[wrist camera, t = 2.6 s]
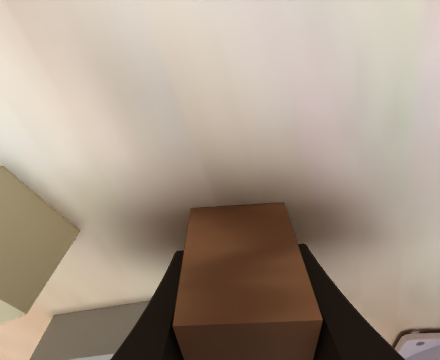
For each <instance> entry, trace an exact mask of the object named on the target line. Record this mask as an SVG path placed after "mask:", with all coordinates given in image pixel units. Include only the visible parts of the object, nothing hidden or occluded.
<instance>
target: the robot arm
mask: <svg viewBox="0 0 440 360" xmlns="http://www.w3.org/2000/svg"><path fill="white" fill-rule="evenodd" d="M298 247H299V250H300V253H301V256H302V259H303V262H304V265H305V268H306V271H307V274H308V277H309V280H310V283H311V286H312V289H313V292H314V295H315V298H316V301H317V304H318V307H319V310H320V313H321V316H322V319H323V322H322V326H321V330H320V334H319V338H318V342H317V346H316V350H315V354H314V358H313V360H440V333H418V334H406V335H404V336H402V337H401V339H400V340H399V342H398V344H397V345H396V347H395V349H394V348H393V347H392V346H391V345H390V344H389V343H388V342H387V341H386V340H385V339H384V338H383V337H382V336H381V335H380V334H379V333H378V332H377V331H376V330H375V329H374V328H373V327H372V326H371V325H370V324H369V323H368V322H367V321H366V320H365V319H364V318H363V317H362V315H361V314H360V313H359V312H358V311H357V310H356V309H355V308H354V307H353V305H352V304H351V303H350V302H349V301H348V300H347V298H346V297H345V296H344V295H343V294H342V292H341V291H340V290H339V289H338V288H337V286H336V285H335V284H334V283H333V281H332V280H331V279H330V278H329V276H328V275H327V274H326V272H325V271H324V270H323V268H322V267H321V266H320V264H319V263H318V262H317V260H316V259H315V257H314V256H313V254H312V253H311V252H310V250H309V249H308V247H307V246H306V245H305V244H298ZM183 255H184V250H182V251H176V252H175V254H174V256H173V258H172V261H171V263H170V265H169V267H168V269H167V271H166V273H165V275H164V277H163V279H162V281H161V282H160V284H159V286H158V288H157V290H156V291H155V293H154V295H153V297H152V299H151V300H150V302H149V304H148V305H147V307H146V308H145V310H144V312H143V313H142V315H141V316H140V318H139V320H138V321H137V323H136V324H135V326H134V327H133V329H132V330H131V332H130V333H129V335H128V336H127V337H126V339H125V340H124V342H123V343H122V344H121V346H120V347H119V349H118V350H117V351H116V353H115V354H114V355H113V356H112V358H111V359H110V360H184V358H183V355H182V352H181V350H180V347H179V344H178V341H177V338H176V335H175V332H174V329H173V320H174V313H175V307H176V300H177V294H178V287H179V281H180V275H181V268H182V262H183Z"/></svg>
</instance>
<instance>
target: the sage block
mask: <svg viewBox="0 0 440 360" xmlns="http://www.w3.org/2000/svg"><path fill="white" fill-rule="evenodd" d="M79 232H80V231H79V230H78V229H77V228H76V227H74V226H73V225H72V224H71V223H70V222H68V221H67V220H66V219H65V218H64V217H63V216H61V215H60V214H59V213H58V212H57V211H56V210H54V209H53V208H52V207H51V206H50V205H48V204H47V203H46V202H45V201H44V200H43V199H41V198H40V197H39V196H38V195H37V194H35V193H34V192H33V191H32V190H31V189H30V188H28V187H27V186H26V185H25V184H24V183H23V182H21V181H20V180H19V179H18V178H17V177H15V176H14V175H13V174H12V173H11V172H10V171H8V170H7V169H6V168H5V167H4V166H3V167H2V168H0V325H1V324H4V323H6V322H8V321H11V320H13V319H16V318H18V317H21V316H23V315H26V314H27V313H28V311H29V309H30V308H31V306H32V305H33V303H34V302H35V300H36V299H37V297H38V296H39V294H40V292H41V291H42V289H43V288H44V286H45V285H46V283H47V282H48V280H49V279H50V277H51V275H52V274H53V272H54V271H55V269H56V268H57V266H58V265H59V263H60V262H61V260H62V258H63V257H64V255H65V254H66V252H67V251H68V249H69V248H70V246H71V245H72V243H73V241H74V240H75V238H76V237H77V235H78V234H79Z"/></svg>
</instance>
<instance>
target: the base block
mask: <svg viewBox="0 0 440 360" xmlns="http://www.w3.org/2000/svg"><path fill="white" fill-rule="evenodd" d="M149 302H150V301H146V302H140V303H133V304H127V305H120V306H113V307H107V308H100V309H94V310H87V311H81V312H74V313H68V314H61V315H55V316H53V318H52V320H51V322H50V324H49V325H48V327H47V329H46V331H45V333H44V334H43V336H42V338H41V340H40V342H39V344H38V345H37V347H36V349H35V351H34V353H33V354H32V356H31V358H30V360H110V359H111V358H112V356H113V355H114V354H115V353H116V351H117V350H118V349H119V347H120V346H121V344H122V343H123V342H124V340H125V339H126V337H127V336H128V335H129V333H130V332H131V330H132V329H133V327H134V326H135V324H136V323H137V321H138V320H139V318H140V316H141V315H142V313H143V312H144V310H145V308H146V307H147V305H148V304H149Z"/></svg>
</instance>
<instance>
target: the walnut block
mask: <svg viewBox="0 0 440 360" xmlns="http://www.w3.org/2000/svg"><path fill="white" fill-rule="evenodd" d="M322 322H323V319H322V316H321V313H320V310H319V307H318V304H317V301H316V298H315V295H314V292H313V289H312V286H311V283H310V280H309V277H308V274H307V271H306V268H305V265H304V262H303V259H302V256H301V253H300V250H299V247H298V244H297V241H296V238H295V235H294V232H293V229H292V226H291V223H290V220H289V217H288V214H287V211H286V208H285V205H284V203H271V204H255V205H239V206H223V207H207V208H191V210H190V217H189V223H188V230H187V236H186V243H185V249H184V255H183V262H182V268H181V275H180V281H179V287H178V294H177V300H176V307H175V313H174V320H173V329H174V332H175V335H176V338H177V341H178V344H179V347H180V350H181V352H182V355H183V358H184V360H313V358H314V354H315V350H316V346H317V342H318V338H319V334H320V330H321V326H322Z"/></svg>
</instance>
